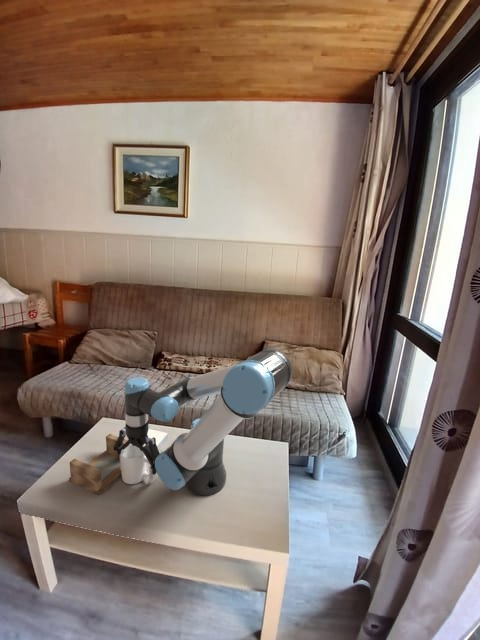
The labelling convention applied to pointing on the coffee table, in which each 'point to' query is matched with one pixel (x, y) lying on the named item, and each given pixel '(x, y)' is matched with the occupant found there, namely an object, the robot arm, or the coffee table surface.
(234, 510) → the coffee table surface
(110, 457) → the cradle
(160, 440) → the white rectangular block
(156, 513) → the coffee table surface
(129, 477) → the mug
